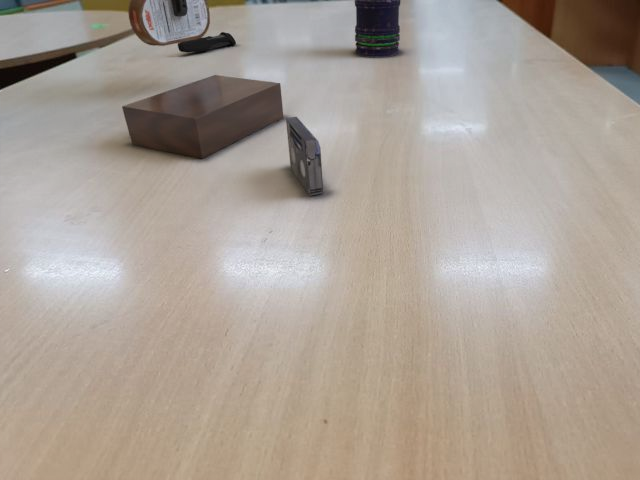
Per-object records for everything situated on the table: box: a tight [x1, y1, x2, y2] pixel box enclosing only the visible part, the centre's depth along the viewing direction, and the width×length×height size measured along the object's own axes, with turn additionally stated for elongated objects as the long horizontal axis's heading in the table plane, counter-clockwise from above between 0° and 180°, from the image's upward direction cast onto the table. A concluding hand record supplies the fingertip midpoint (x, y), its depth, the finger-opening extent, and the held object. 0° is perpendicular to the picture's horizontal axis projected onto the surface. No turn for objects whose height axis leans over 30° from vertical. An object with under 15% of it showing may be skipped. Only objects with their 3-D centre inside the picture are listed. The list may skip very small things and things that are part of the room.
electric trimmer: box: [177, 31, 237, 53], centre depth 118 cm, size 4×16×3 cm, turn 146°
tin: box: [127, 0, 211, 47], centre depth 84 cm, size 15×3×8 cm, turn 148°
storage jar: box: [354, 0, 402, 58], centre depth 110 cm, size 10×10×15 cm
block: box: [121, 74, 284, 160], centre depth 70 cm, size 12×18×5 cm, turn 153°
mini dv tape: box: [285, 116, 324, 197], centre depth 56 cm, size 8×2×6 cm, turn 21°
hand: (172, 14), depth 84 cm, fingers closed on tin, 3 cm apart
